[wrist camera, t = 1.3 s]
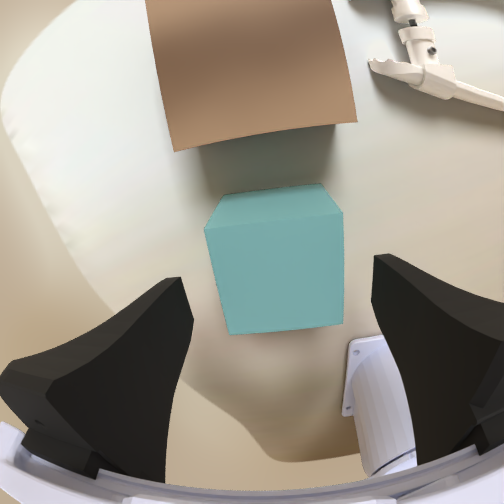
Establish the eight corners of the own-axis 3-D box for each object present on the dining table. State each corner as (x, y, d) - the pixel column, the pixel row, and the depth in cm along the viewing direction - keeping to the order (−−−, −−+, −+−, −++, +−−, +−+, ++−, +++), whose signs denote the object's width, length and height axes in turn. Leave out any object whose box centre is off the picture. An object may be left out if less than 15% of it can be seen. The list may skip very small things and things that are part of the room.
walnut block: (334, 121, 13) (357, 122, 10) (198, 143, 14) (174, 152, 11) (308, -1, 10) (319, -34, 7) (174, 24, 11) (145, -1, 8)
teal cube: (325, 268, 17) (342, 323, 12) (239, 278, 17) (229, 335, 13) (320, 182, 15) (342, 212, 10) (223, 194, 15) (203, 229, 11)
